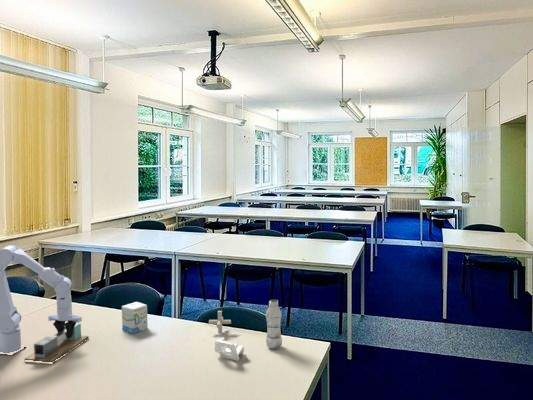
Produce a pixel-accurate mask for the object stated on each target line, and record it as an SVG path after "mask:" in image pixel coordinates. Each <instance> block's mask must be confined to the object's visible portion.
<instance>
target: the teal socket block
mask: <svg viewBox="0 0 533 400" xmlns="http://www.w3.org/2000/svg"><path fill="white" fill-rule="evenodd" d="M81 325H82V324H81V322H79V323H76V324H75V327H74V329H73V335H72V337H71V338H69V339H68V338H67V339H66V340H76V339H78V338H79V337H81V336H82V326H81ZM65 328H66V327H64V329H65Z"/></svg>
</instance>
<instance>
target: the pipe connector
mask: <svg viewBox="0 0 533 400" xmlns="http://www.w3.org/2000/svg"><path fill="white" fill-rule="evenodd" d="M222 315H223V310H218V311H217V319H209V320H208V324H209V325H216V328H217V331H218V332H217V333H218V334H222V333H223V325H229V324H230V325H232V320H231V319H224V316H222Z"/></svg>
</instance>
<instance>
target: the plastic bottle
mask: <svg viewBox="0 0 533 400" xmlns="http://www.w3.org/2000/svg"><path fill="white" fill-rule="evenodd" d="M268 306H269V307H268V308H267V309H266V311H265V318H266V326H267V329H266V330H267V332H266V338H265V339H266V341H265V342H266V346H267V348H268V349H271V350H277V349H280V348H281V347H282V345H283V340H282V339H283V338H282V333H281V322H282V310H280V308H279V300H278V299H270V300H269V301H268Z"/></svg>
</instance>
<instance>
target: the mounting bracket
mask: <svg viewBox="0 0 533 400" xmlns="http://www.w3.org/2000/svg"><path fill="white" fill-rule="evenodd" d="M214 352H215V353H217V354H219V356H220V357H222V358H225V359H227V360H228V359H230V360H232V361H236V362H238V361H239V360H240V356H243V355H244V352H245V347H244V345H241V344H238V343H233V342H229V341H226V339H225V338H224V337H221V338H220V339H216V340H215V341H214Z"/></svg>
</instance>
